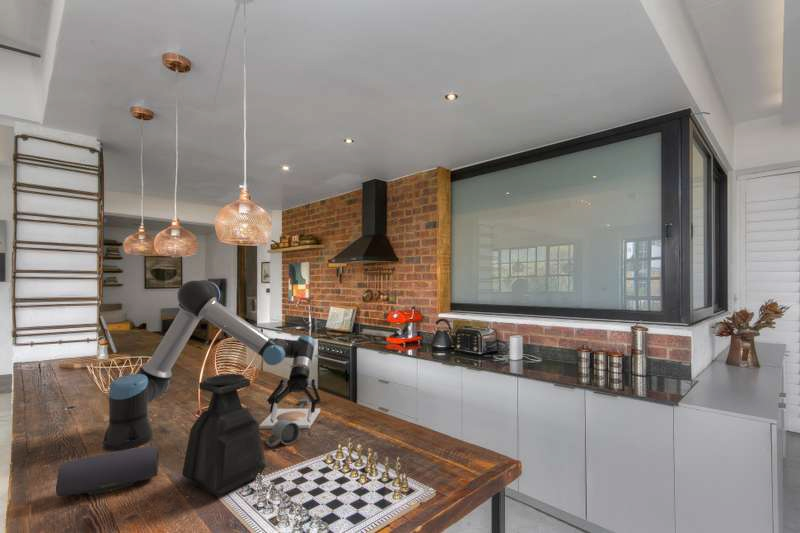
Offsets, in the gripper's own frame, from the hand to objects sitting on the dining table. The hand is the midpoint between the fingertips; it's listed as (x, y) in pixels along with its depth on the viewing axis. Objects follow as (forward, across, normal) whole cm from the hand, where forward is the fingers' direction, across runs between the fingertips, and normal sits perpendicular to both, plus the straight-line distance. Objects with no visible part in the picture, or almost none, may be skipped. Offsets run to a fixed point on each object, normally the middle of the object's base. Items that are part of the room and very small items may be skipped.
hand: (290, 420), depth 145 cm
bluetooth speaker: (+28, +42, +18) cm, 54 cm away
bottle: (+25, +11, +16) cm, 32 cm away
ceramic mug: (+7, +2, -3) cm, 8 cm away
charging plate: (-14, +6, -24) cm, 28 cm away
